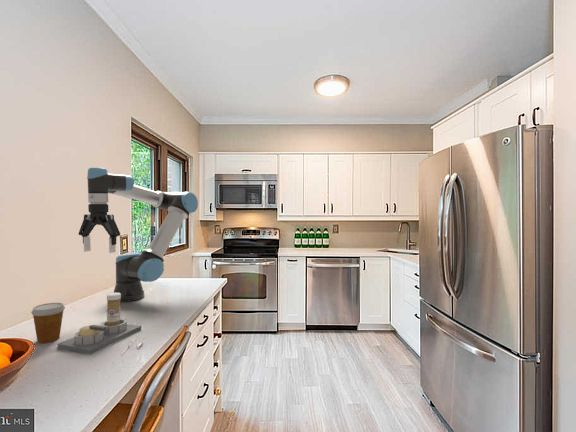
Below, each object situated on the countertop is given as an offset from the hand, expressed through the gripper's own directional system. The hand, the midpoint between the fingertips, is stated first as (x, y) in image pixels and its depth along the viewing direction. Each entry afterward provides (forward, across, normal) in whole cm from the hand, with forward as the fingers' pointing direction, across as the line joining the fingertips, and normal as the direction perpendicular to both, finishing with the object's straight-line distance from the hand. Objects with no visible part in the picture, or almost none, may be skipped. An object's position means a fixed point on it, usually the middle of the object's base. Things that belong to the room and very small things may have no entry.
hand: (99, 251), depth 138 cm
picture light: (+28, +38, -23) cm, 53 cm away
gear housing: (+27, +22, -21) cm, 41 cm away
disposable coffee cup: (+27, +5, -27) cm, 39 cm away
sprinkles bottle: (+26, +22, -16) cm, 38 cm away
